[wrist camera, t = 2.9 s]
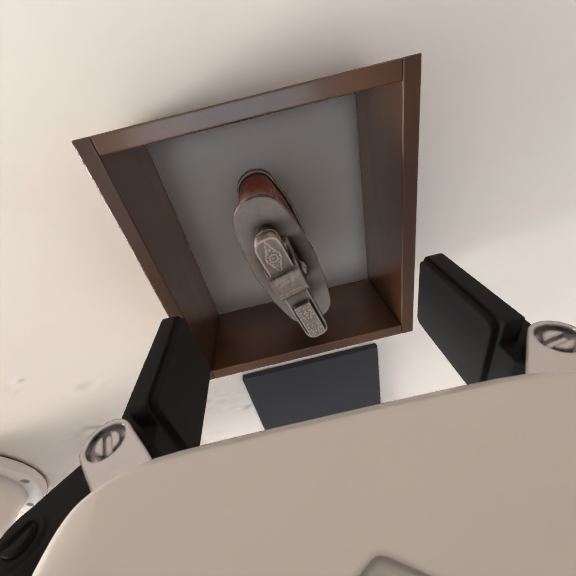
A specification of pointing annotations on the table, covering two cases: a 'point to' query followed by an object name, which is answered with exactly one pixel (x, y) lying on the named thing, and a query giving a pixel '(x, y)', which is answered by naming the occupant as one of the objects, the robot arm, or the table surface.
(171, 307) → the walnut box
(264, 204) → the lighter
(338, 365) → the charcoal mat
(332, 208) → the table surface
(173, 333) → the robot arm
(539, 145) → the table surface
